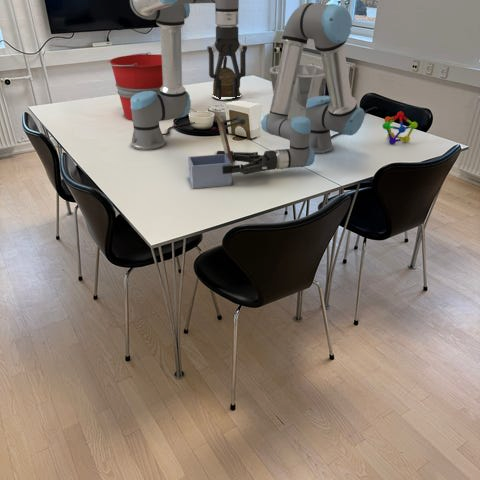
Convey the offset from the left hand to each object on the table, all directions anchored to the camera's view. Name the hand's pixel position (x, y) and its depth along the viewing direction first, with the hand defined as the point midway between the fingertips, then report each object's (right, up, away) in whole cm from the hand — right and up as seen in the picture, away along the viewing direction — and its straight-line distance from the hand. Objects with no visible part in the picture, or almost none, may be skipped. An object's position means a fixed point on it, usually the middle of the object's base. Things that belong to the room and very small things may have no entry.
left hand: (227, 97), depth 157 cm
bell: (-4, +40, +124) cm, 130 cm away
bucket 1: (-48, +20, +91) cm, 105 cm away
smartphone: (-2, -15, +35) cm, 38 cm away
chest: (-7, -28, +15) cm, 33 cm away
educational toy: (+79, -5, +53) cm, 95 cm away
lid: (-2, -13, +7) cm, 15 cm away
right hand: (-3, -22, +12) cm, 25 cm away
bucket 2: (+34, +10, +76) cm, 84 cm away
